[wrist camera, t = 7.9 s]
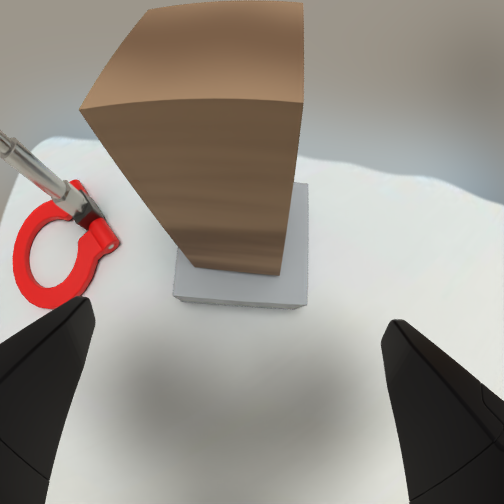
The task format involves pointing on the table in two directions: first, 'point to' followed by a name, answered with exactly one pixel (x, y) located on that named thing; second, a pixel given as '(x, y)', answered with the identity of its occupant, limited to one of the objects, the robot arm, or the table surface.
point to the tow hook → (60, 207)
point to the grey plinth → (251, 284)
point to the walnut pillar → (209, 125)
